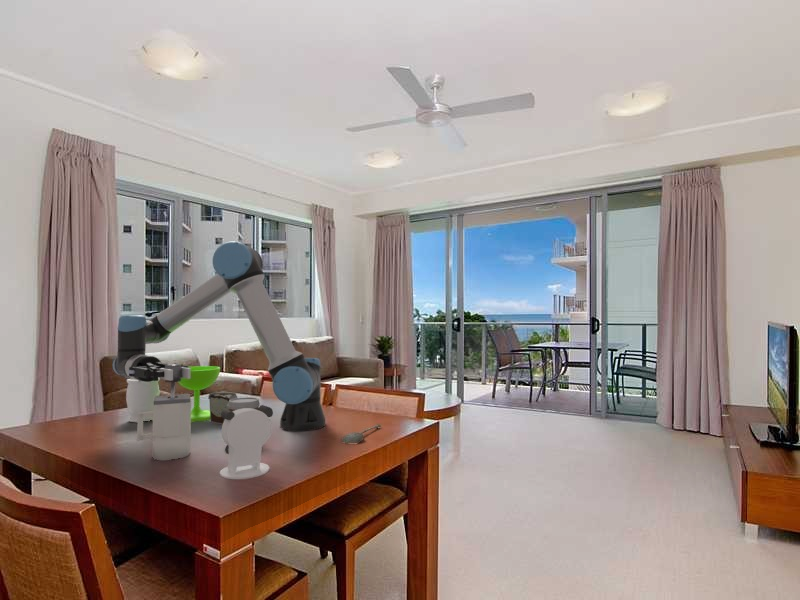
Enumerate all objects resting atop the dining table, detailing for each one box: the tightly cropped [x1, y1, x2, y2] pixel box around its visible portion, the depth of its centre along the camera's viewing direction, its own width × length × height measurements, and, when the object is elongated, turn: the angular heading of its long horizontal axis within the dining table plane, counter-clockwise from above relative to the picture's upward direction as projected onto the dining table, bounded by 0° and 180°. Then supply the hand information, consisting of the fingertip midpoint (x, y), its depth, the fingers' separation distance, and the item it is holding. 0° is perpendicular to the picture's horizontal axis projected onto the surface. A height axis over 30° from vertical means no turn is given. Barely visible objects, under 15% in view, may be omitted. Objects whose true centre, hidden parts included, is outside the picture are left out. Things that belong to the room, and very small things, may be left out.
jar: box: [125, 377, 161, 423], centre depth 167 cm, size 11×10×15 cm
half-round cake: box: [208, 391, 238, 425], centre depth 165 cm, size 12×6×10 cm, turn 58°
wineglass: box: [177, 365, 221, 423], centre depth 172 cm, size 16×16×18 cm
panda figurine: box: [219, 404, 274, 480], centre depth 113 cm, size 12×11×15 cm
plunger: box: [164, 363, 182, 398], centre depth 126 cm, size 4×4×17 cm
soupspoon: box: [340, 423, 382, 444], centre depth 146 cm, size 22×3×7 cm
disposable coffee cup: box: [227, 396, 261, 411], centre depth 141 cm, size 10×10×12 cm
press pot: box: [136, 393, 192, 461], centre depth 124 cm, size 13×9×16 cm
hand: (180, 374), depth 123 cm, fingers closed on plunger, 4 cm apart
